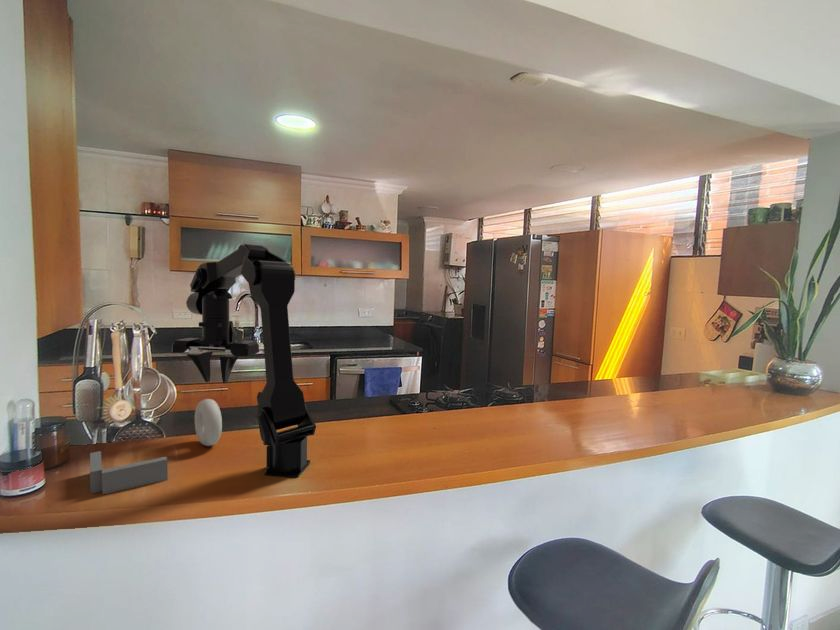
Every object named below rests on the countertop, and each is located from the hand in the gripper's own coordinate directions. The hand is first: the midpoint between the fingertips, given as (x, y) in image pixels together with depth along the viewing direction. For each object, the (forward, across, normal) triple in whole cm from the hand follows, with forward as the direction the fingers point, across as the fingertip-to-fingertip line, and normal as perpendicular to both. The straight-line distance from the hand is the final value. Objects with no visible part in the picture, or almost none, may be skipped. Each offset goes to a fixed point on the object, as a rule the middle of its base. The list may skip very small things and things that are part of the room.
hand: (216, 382), depth 96 cm
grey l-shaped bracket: (+11, 0, +24) cm, 26 cm away
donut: (+11, -4, +10) cm, 15 cm away
